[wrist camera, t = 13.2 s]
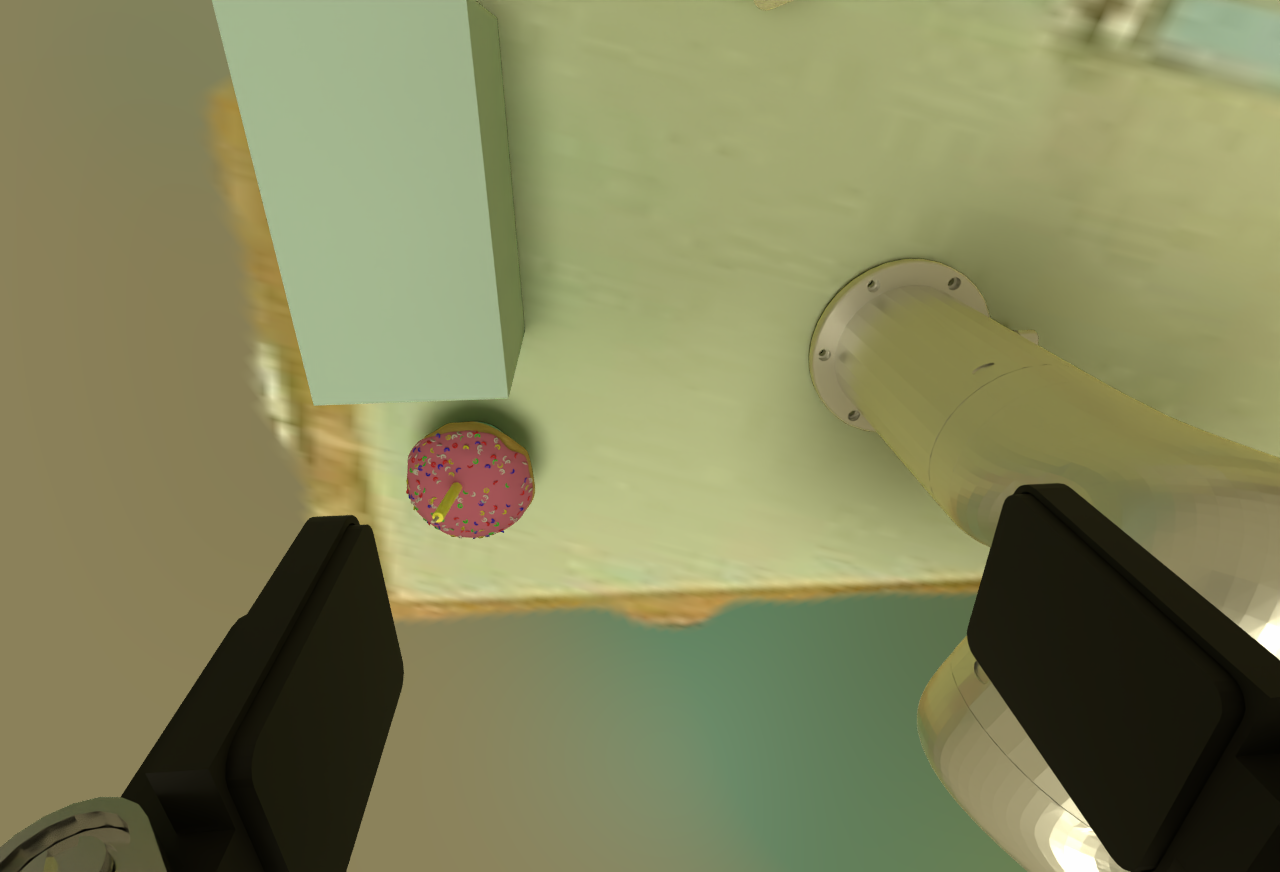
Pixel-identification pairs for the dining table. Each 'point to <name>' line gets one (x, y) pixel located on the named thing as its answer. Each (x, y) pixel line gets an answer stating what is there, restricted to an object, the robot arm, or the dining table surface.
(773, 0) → the bracket
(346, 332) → the plain rectangular box
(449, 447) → the cupcake
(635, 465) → the dining table surface
